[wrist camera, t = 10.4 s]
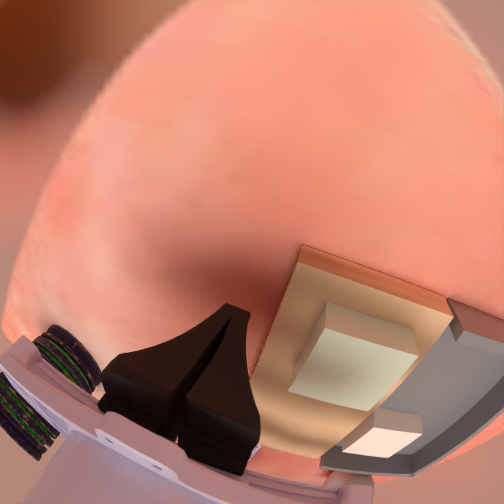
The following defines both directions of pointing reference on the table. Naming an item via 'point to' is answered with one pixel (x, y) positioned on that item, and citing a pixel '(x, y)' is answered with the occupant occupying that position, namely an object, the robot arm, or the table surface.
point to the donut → (349, 480)
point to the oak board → (299, 329)
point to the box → (442, 396)
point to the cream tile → (383, 433)
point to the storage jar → (22, 413)
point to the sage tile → (352, 358)
